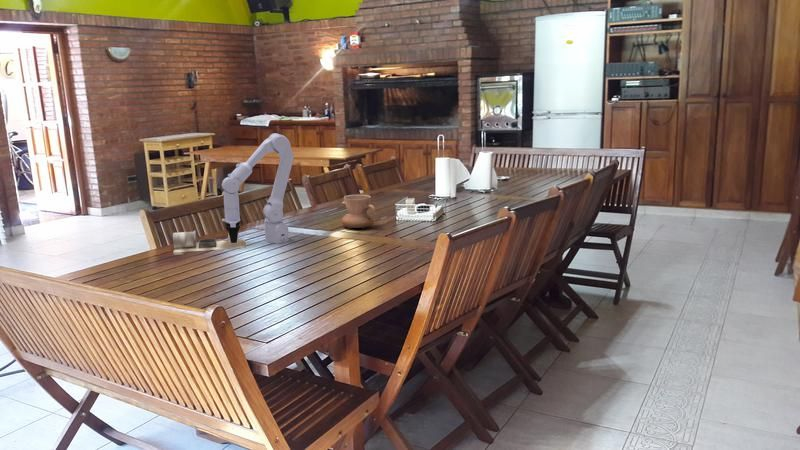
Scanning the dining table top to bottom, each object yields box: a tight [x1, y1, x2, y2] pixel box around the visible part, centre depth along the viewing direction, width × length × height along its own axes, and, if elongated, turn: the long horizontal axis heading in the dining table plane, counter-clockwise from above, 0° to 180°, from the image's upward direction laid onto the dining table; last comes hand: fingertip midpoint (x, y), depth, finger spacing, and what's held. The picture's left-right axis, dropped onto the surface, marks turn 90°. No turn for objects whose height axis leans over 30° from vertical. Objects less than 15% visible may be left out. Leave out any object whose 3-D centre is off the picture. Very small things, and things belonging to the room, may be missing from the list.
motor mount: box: [172, 230, 247, 256], centre depth 251 cm, size 27×14×7 cm, turn 106°
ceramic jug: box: [341, 194, 376, 229], centre depth 285 cm, size 18×14×14 cm
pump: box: [227, 232, 240, 245], centre depth 253 cm, size 4×4×7 cm
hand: (233, 241), depth 253 cm, fingers closed on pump, 4 cm apart
